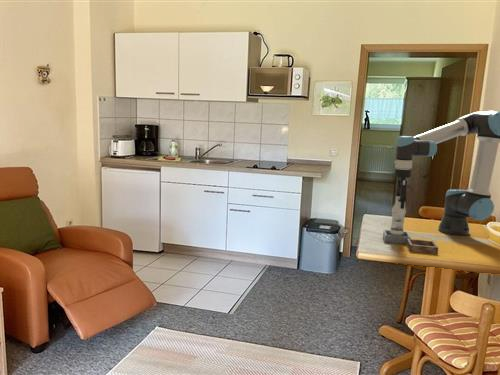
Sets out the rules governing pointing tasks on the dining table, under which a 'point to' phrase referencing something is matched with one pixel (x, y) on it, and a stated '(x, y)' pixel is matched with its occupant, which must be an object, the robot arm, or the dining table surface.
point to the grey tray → (395, 237)
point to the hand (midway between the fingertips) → (399, 212)
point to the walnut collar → (422, 246)
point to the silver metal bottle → (397, 221)
